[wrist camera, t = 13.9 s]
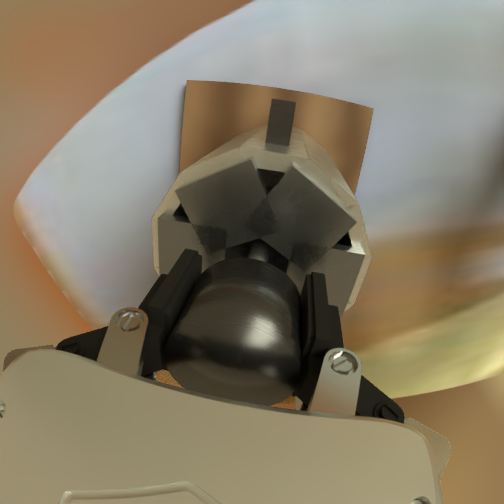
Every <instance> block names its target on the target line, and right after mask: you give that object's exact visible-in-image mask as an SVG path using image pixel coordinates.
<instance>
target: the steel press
mask: <svg viewBox="0 0 504 504" xmlns="http://www.w3.org/2000/svg"><path fill="white" fill-rule="evenodd" d="M295 107H296V102H292V101H285V100H279V99H272V100H271V106H270V113H269V120H268V124H265V125H263V126H260V127H257V128H254V129H252V130H250V131H247V132H245V133H242V134H240V135H238V136H236V137H235V138H233V139H231V140H230V141H228V142H226V143H225V144H223V145H222V146H220V147H218V148H217V149H215V150H214V151H212V152H211V153H209V154H208V155H206V156H204V157H203V158H201V159H200V160H198V161H197V162H195V163H194V164H192V165H191V166H189V167H188V168H186V169H185V170H184V171H182V172H181V173H180V174H179V176H178V177H177V179H176V180H175V182H174V183H173V185H172V187H171V188H170V190H169V191H168V193H167V194H166V196H165V198H164V199H163V201H162V203H161V204H160V206H159V207H158V209H157V211H156V212H155V214H154V216H153V217H152V240H153V261H154V269H155V270H156V272H157V274H158V275H159V276H160V275H161V274H167V275H168V273H169V272H170V270H171V269H172V267H173V266H174V264H175V263H176V261H177V260H178V258H179V257H180V255H181V254H182V252H183V251H184V250H185V249H191V250H196V251H198V253H199V254H200V255H202V273H203V272H204V271H205V270H206V269H207V268H208V267H210V266H211V265H213V264H215V263H217V262H220V261H222V260H226V259H230V258H248V255H249V251H250V248H251V245H252V241H253V240H255V239H258V238H261V239H262V240H264V241H265V242H266V243H268V244H269V245H270V249H269V254H268V260H267V263H269V264H271V265H273V266H275V267H277V268H279V269H280V270H282V271H283V272H284V273H285V274H286V275H288V276H289V277H290V279H291V280H292V281H293V282H294V284H295V285H296V287H297V289H298V291H299V293H300V295H301V291H302V288H303V284H304V281H305V277H306V274H310V275H311V272H317V273H323V274H325V279H326V287H327V295H328V304H329V305H334V306H337V307H338V310H339V316H340V315H342V316H343V313H344V312H345V311H346V310H348V309H349V308H350V307H351V306H353V304H354V303H355V300H356V298H357V295H358V293H359V290H360V288H361V285H362V283H363V280H364V278H365V275H366V272H367V270H368V267H369V264H370V261H371V259H372V258H371V257H372V256H371V252H370V247H369V243H368V239H367V235H366V231H365V227H364V223H363V219H362V215H361V211H360V207H359V204H358V202H357V200H356V198H355V196H354V195H353V193H352V191H351V190H350V188H349V186H348V185H347V183H346V181H345V180H344V178H343V176H342V175H341V173H340V172H339V170H338V168H337V167H336V165H335V164H334V162H333V160H332V159H331V157H330V156H329V154H328V153H327V151H326V150H325V149H324V148H323V147H322V146H321V145H320V144H319V143H318V142H316V141H315V140H314V139H313V138H312V137H311V136H309V135H308V134H307V133H305V132H304V131H303V130H302V129H300V128H294V127H292V126H293V120H294V114H295ZM258 168H261V169H267V170H273V171H279V172H284V174H283V175H282V176H281V177H280V179H279V180H278V181H277V182H276V183H275V184H274V185H273V187H272V188H271V189H270V190H269V191H267V189H266V186H265V184H264V182H263V179H262V177H261V174H260V172H259V170H258Z"/></svg>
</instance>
